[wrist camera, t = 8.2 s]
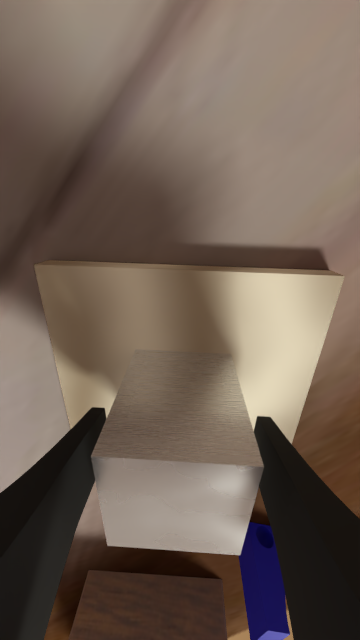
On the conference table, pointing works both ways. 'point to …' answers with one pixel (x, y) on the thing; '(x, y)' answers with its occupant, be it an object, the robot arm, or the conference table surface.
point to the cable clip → (263, 585)
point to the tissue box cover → (149, 608)
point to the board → (188, 327)
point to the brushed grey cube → (178, 456)
